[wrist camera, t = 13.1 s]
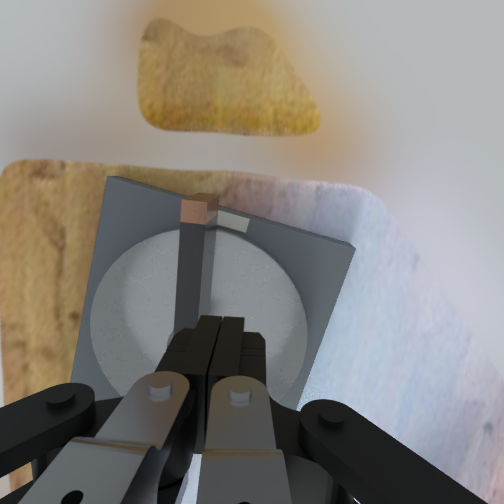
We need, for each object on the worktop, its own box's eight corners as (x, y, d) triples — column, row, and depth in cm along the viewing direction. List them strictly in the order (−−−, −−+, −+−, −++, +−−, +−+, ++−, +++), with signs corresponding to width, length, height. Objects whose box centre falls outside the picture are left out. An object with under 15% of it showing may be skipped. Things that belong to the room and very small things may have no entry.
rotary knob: (290, 429, 34) (297, 501, 26) (97, 406, 34) (51, 471, 26) (326, 205, 28) (347, 218, 21) (98, 179, 29) (41, 183, 21)
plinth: (279, 436, 37) (280, 452, 35) (78, 382, 36) (67, 395, 34) (350, 243, 32) (356, 249, 29) (117, 175, 31) (106, 176, 29)
